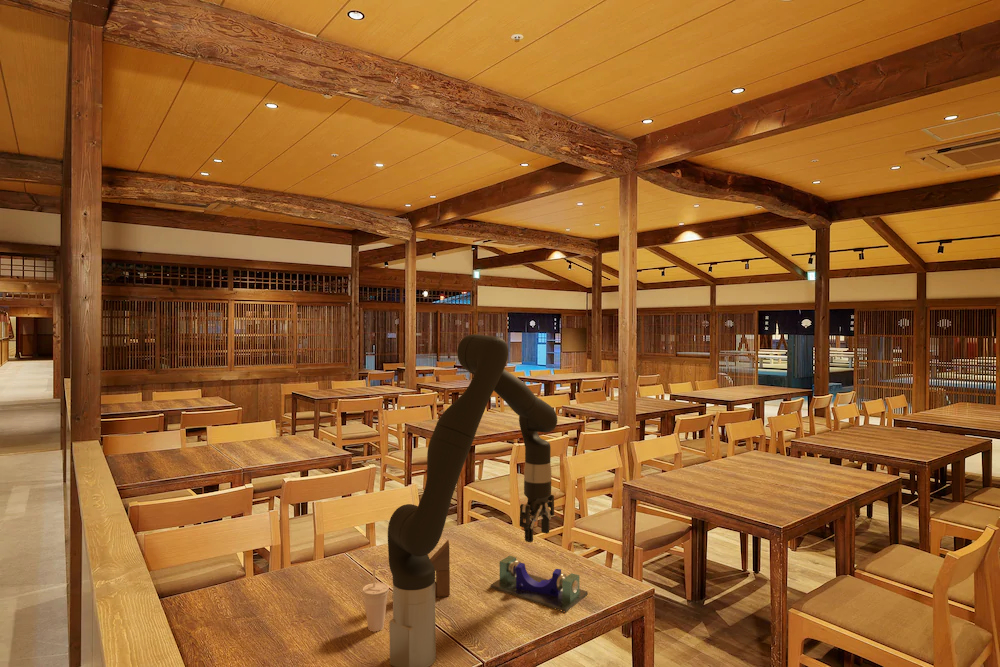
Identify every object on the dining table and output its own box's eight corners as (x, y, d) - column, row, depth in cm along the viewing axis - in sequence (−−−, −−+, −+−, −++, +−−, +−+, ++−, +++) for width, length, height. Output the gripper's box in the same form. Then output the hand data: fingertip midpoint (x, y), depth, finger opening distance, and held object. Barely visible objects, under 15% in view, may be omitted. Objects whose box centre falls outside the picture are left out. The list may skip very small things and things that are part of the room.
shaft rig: (565, 612, 142) (565, 587, 142) (490, 587, 157) (490, 564, 157) (587, 594, 152) (587, 570, 152) (514, 572, 166) (514, 550, 166)
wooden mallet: (449, 596, 152) (449, 530, 151) (409, 599, 150) (409, 532, 150) (449, 590, 155) (448, 525, 155) (409, 593, 154) (409, 527, 153)
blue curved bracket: (562, 589, 154) (562, 567, 154) (558, 596, 150) (558, 573, 150) (521, 581, 158) (521, 560, 158) (516, 588, 154) (516, 566, 154)
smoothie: (378, 618, 140) (377, 562, 140) (394, 626, 136) (394, 569, 136) (356, 628, 135) (356, 571, 135) (373, 637, 131) (373, 578, 131)
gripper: (535, 486, 146) (535, 548, 146) (562, 475, 158) (562, 532, 158) (511, 481, 151) (511, 541, 151) (539, 471, 162) (539, 527, 162)
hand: (537, 537), depth 154 cm, fingers open, 8 cm apart
